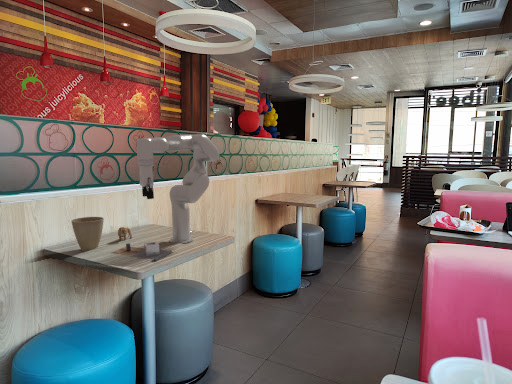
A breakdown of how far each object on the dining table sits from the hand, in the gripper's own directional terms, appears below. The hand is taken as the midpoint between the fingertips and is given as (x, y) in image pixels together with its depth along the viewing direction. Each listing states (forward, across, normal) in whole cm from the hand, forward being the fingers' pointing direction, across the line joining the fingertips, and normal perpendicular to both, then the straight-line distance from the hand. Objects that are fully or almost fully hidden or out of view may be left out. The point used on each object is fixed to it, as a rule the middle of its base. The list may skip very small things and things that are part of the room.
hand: (148, 197), depth 174 cm
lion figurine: (+28, -26, -8) cm, 39 cm away
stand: (+27, -1, -11) cm, 29 cm away
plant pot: (+27, -17, -28) cm, 42 cm away
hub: (+27, +10, -2) cm, 29 cm away
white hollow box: (+26, +10, -2) cm, 28 cm away
